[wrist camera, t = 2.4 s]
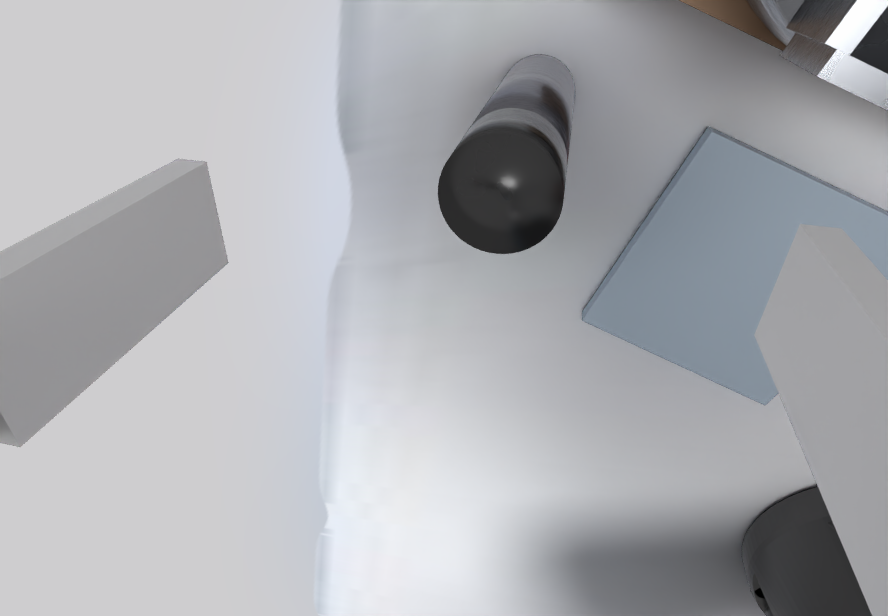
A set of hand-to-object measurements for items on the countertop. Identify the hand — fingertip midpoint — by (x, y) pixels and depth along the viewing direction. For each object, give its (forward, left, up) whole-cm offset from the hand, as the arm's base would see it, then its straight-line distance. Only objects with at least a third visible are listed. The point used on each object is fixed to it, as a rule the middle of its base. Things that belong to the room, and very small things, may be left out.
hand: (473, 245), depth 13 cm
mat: (-4, -14, -18) cm, 23 cm away
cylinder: (0, 0, -18) cm, 18 cm away
